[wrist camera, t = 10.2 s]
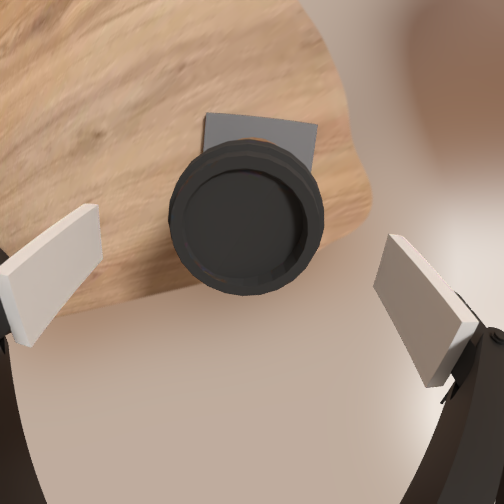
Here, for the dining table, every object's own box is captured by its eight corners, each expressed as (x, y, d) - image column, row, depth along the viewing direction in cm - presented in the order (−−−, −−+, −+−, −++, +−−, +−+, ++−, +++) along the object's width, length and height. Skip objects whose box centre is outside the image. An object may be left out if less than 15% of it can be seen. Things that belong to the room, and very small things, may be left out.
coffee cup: (316, 158, 28) (365, 208, 15) (266, 229, 31) (268, 327, 18) (238, 109, 26) (213, 109, 13) (192, 185, 30) (134, 254, 16)
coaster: (200, 214, 31) (199, 216, 31) (207, 112, 27) (206, 112, 27) (301, 225, 32) (301, 227, 31) (316, 124, 27) (317, 124, 27)
